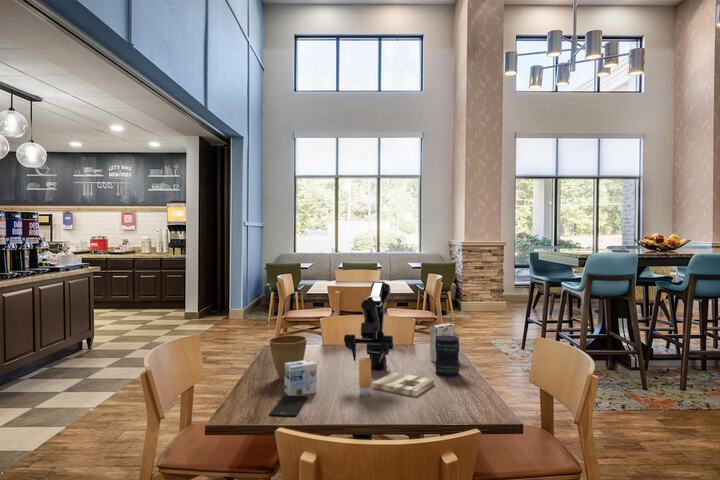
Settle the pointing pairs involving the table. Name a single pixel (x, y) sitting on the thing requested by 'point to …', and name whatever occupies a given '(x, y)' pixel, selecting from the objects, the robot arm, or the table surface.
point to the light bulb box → (300, 377)
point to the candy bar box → (439, 331)
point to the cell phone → (288, 406)
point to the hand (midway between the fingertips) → (366, 361)
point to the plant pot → (287, 351)
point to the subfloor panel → (403, 384)
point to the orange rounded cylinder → (365, 376)
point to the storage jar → (447, 356)
